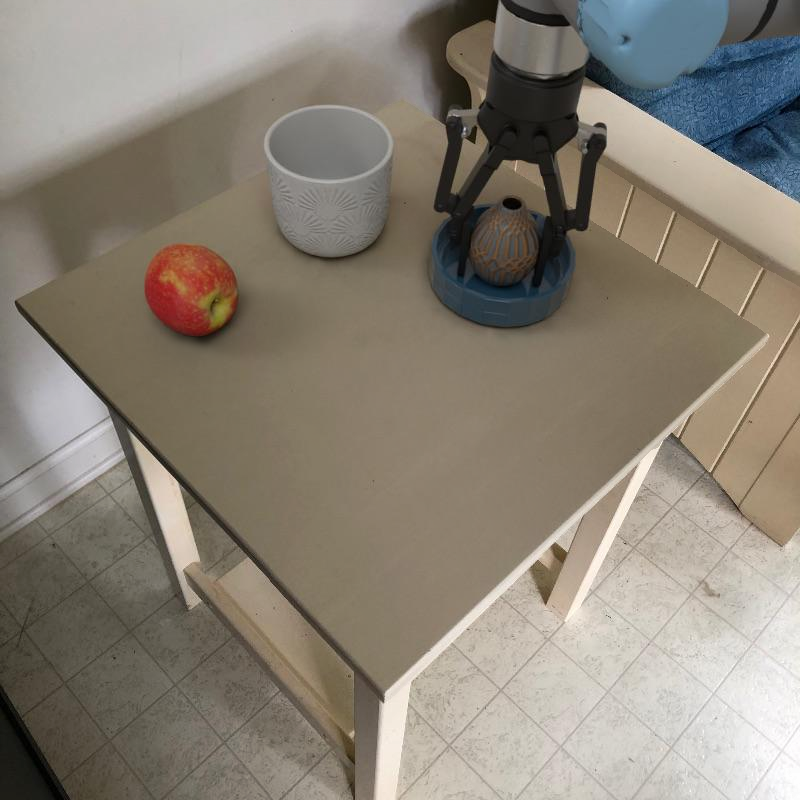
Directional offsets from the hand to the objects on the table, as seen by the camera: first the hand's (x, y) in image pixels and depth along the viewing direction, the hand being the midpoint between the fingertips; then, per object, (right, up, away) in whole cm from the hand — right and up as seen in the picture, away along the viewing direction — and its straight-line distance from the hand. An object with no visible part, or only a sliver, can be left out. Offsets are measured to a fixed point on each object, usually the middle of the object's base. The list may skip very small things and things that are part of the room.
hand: (499, 270), depth 83 cm
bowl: (0, -1, +1) cm, 1 cm away
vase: (0, 0, 0) cm, 0 cm away
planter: (-17, +5, +5) cm, 19 cm away
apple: (-29, -5, -4) cm, 30 cm away
